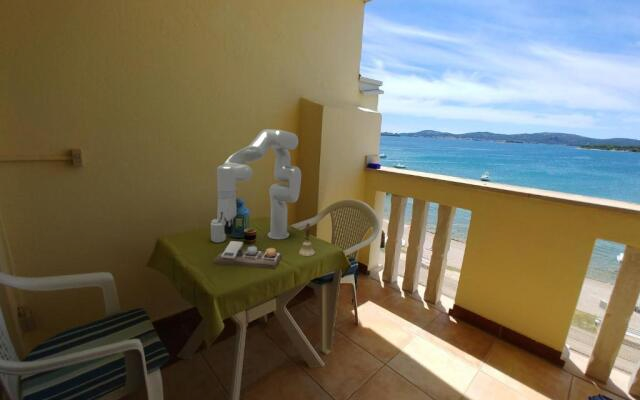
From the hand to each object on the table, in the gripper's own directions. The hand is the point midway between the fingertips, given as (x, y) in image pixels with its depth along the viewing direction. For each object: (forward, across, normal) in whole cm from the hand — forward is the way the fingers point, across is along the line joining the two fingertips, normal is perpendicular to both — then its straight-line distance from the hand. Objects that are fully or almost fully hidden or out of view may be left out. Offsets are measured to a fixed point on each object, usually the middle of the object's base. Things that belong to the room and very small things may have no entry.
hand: (228, 233), depth 118 cm
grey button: (+10, -4, +9) cm, 15 cm away
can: (+15, -22, -16) cm, 31 cm away
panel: (+14, -4, +8) cm, 17 cm away
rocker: (+10, -4, 0) cm, 10 cm away
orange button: (+10, -4, +18) cm, 21 cm away
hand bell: (+15, -18, +34) cm, 41 cm away
